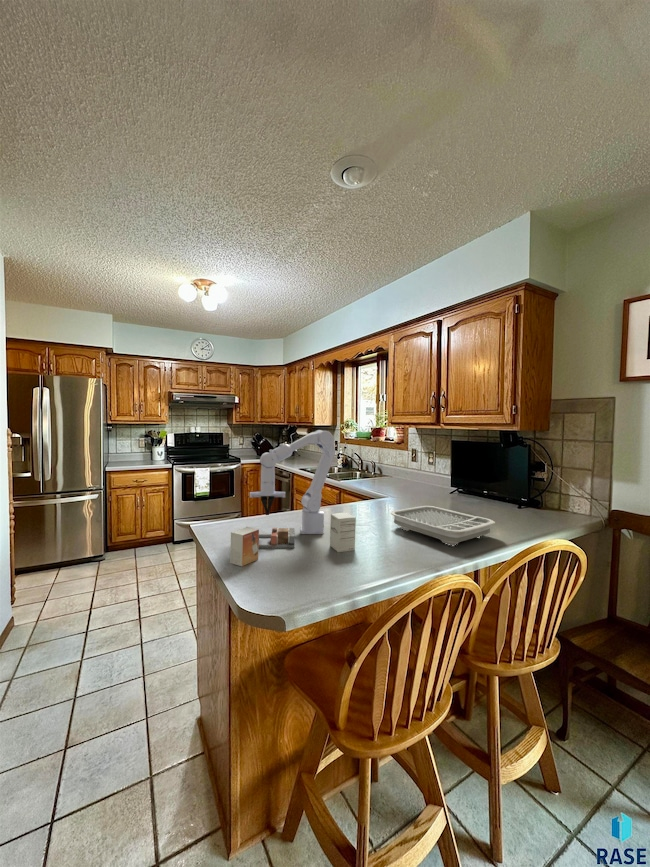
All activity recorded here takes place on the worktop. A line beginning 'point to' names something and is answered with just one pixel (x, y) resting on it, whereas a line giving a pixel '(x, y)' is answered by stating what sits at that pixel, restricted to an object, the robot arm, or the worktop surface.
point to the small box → (244, 546)
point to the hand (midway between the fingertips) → (267, 514)
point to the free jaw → (274, 536)
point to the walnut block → (282, 535)
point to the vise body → (290, 545)
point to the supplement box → (342, 532)
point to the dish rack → (442, 523)
